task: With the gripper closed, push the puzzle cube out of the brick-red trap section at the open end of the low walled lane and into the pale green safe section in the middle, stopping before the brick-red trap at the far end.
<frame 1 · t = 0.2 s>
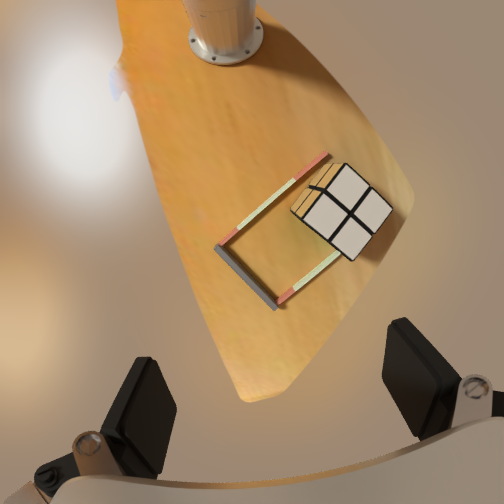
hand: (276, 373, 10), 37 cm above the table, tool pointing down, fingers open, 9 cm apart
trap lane: (298, 231, 46), on the table
puzzle cube: (329, 204, 45), on the table
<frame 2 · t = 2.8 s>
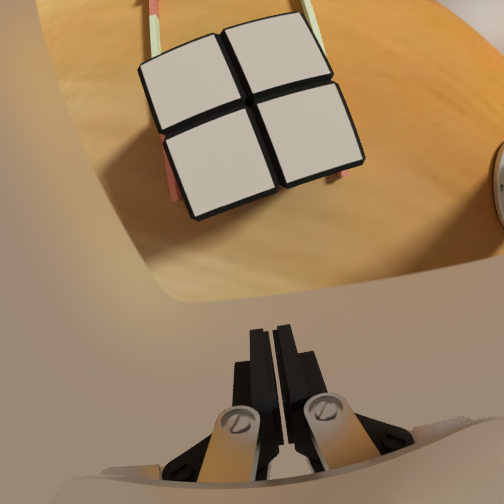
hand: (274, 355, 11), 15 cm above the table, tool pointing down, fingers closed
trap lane: (238, 58, 20), on the table
puzzle cube: (250, 129, 22), on the table
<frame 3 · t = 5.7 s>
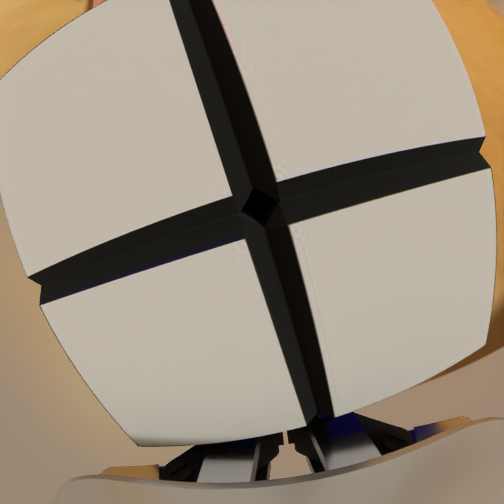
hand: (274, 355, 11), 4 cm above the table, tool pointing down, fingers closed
puzzle cube: (250, 183, 14), on the table, touching gripper
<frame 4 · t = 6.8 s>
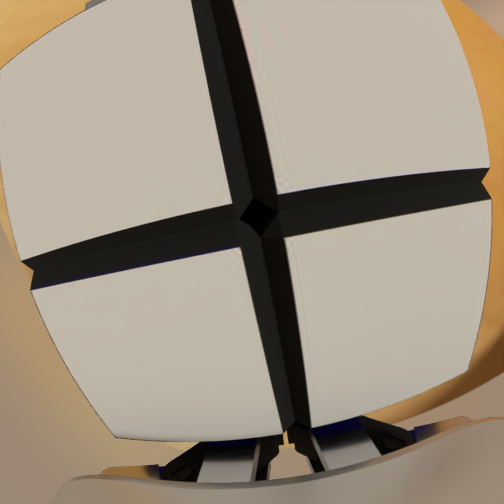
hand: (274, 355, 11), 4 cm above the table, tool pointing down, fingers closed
puzzle cube: (250, 186, 14), on the table, touching gripper
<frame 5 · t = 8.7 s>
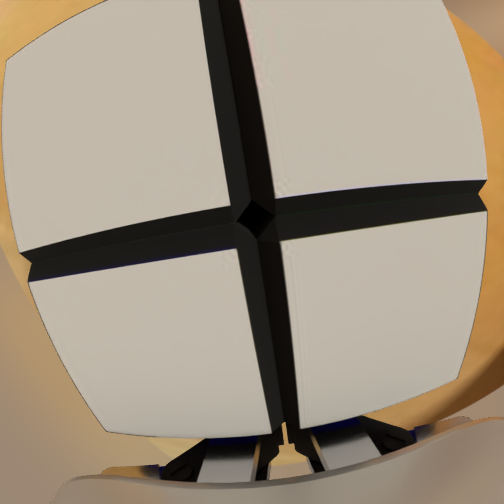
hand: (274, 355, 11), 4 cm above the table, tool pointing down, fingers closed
puzzle cube: (249, 187, 14), on the table
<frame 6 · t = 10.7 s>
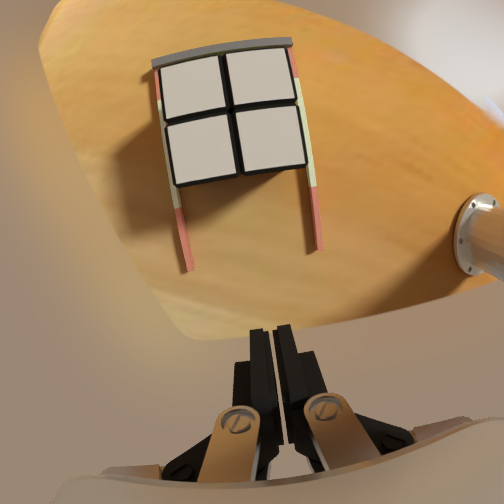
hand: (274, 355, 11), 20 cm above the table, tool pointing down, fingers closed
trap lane: (237, 149, 28), on the table
puzzle cube: (234, 130, 28), on the table
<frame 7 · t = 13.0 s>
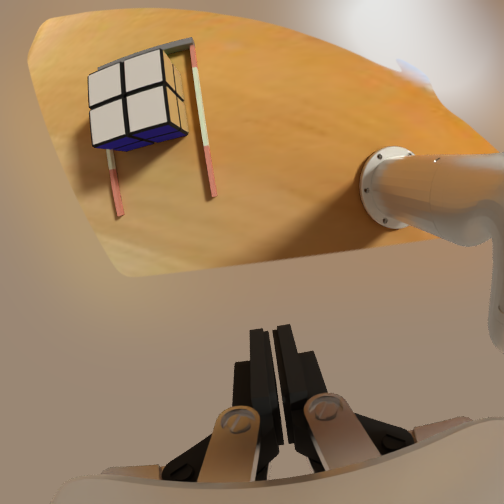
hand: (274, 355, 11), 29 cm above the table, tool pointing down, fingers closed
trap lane: (153, 124, 35), on the table
puzzle cube: (152, 111, 34), on the table
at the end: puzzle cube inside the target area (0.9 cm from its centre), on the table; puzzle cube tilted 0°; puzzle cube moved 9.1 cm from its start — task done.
